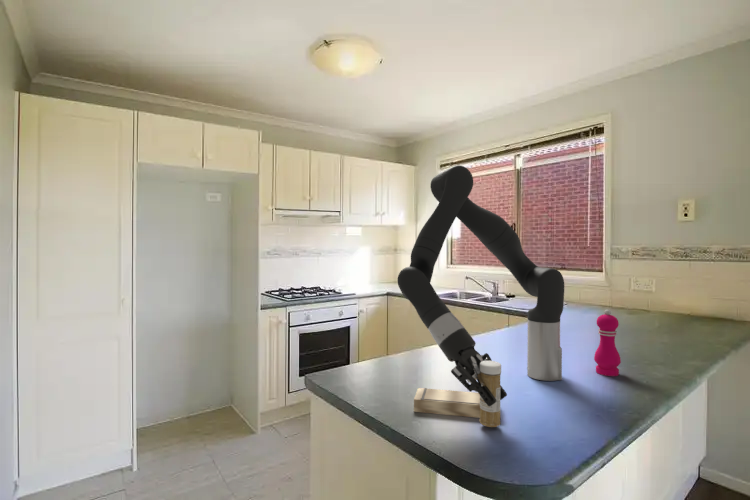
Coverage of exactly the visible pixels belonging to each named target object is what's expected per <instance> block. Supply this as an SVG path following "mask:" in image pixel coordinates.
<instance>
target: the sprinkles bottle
mask: <svg viewBox="0 0 750 500" xmlns="http://www.w3.org/2000/svg"><path fill="white" fill-rule="evenodd" d="M480 372H481V378H482V380H483V382H484V384H485V386H487V388H488V389H489V390H490V392H491V393H492V394H493V396H494V397H495V399H496V403H494V404H493V405H492V406H488V405H487V404H486V403H485V401H484V400H483V398H482V397H481V396H480V418H479V420H478V421H479V423H480V424H481V425H482V426H485V427H488V428H497V427H499V426H500V425H501V400H500V389H501V387H500V385H501V374H502V364H501V363H500V362H498V361H495V360H492V361H482V362H480ZM485 386H484V387H485Z"/></svg>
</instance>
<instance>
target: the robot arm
mask: <svg viewBox="0 0 750 500" xmlns="http://www.w3.org/2000/svg"><path fill="white" fill-rule="evenodd" d="M430 181H431V182H430V191H431V194H432V195H433V197H434V198H435V200H436V201H437V202H438V204H437V205H436V208H435V209H434V210H433V212H432V214H431V215H430V216H429V218H428V219H427V220H426V221H425V223H424V225H423V226H422V228H421V230H420V231H419V233H418V235H417V238H416V240H415V243H414V245H413V247H412V249H411V253H410V264H409V266H407V267H405V268H402V270H400V271H399V272H398V276H397V285H398V288H399V290H400V292H401V293H402V297H404V298H405V299H406V300H408V301H409V302H410V303H411V305H412V306H413V307H414V309H415V310H416V313H417V315H418V317H419V318H420V320H421V321H422V323H423V324H424V326H425V327H426V329H427V330H428V332H429V333H430V334H431V335H430V336H431V337H432V339H433V340H434V342H435V343H436V345H437V346H438V347H439V349H440V350H441V351H442V353H443V354H444V356H445V357H446V358H447V360H448V362H454V363H455V366H454V367H453V368H452V369H451V370H450V372H451V374H452V375H453V376H454V377H455V378H456V380H458V381H459V382H460V383H461V384H462V385H463V386H464V387H465V388H466V389H467V391H468V392H475V393H479V394H480V396H481V397H482V398H483V400H484V401H485V403H486V404H487V405H488V406H492V405H493V404H494V403H496V399H495V397H494V396H493V394H492V393H491V392H490V390H489V389H488V388H487V386H485V384H484V382H483V380H482V378H481V372H480V362H482V361H493V360H492V358H491V356H490V355H489V353H487V352H486V353H484V354H480V352H478V351H477V350H476V349H475V346H476V343H477V342H476V341H475V340H474V338H473V337H472V335H471V334H470V333H469V332H468V330H467V329H466V327H464V324H462V323H461V321H460V320H459V319H458V318H457V316H455V315H454V313H452V311H451V310H450V309H449V307H448V306H447V305H446V303H445V302H444V301H443V299H441V298H440V296H439V294H437V292H436V290H435V289H434V287H433V286H432V283H431V282H432V281H431V280H432V279H433V274H434V268H435V265H436V263H437V260H438V259H439V256H440V253H441V251H442V248H443V245H444V243H445V240H446V238H447V236H448V234H449V232H450V230H451V227H452V225H453V224H454V221H455V220H456V218H457V219H458V220H460V222H461V223H463V225H464V226H465V227H467V229H469V231H470V232H471V233H472V234H473V235H474V236H475V237H476V238H477V239H478V240H479V241H480V243H482V245H483V246H485V248H486V249H487V250H488V251H489V252H490V253H491V254H492V255H494V256H495V258H496V259H497V260H498V261H499V262H500V263H501V264H502V265H503V266H504V267H505V268H506V269H507V270H508V271H509V272H510V273H511V274H512V276H513V277H514V278H515V280H516V282H518V284H519V285H520V286H521V288H522V289H523V290H524V291H525V292H526V293H527V294H529V295H530V296H533V297H536V299H537V300H536V305H535V307H533V308H530V309H528V311H527V353H526V354H527V355H526V357H527V361H526V362H527V363H526V365H527V367H526V370H527V373H526V375H527V376H528V377H530V378H532V379H535V380H538V381H539V380H540V381H546V382H554V381H562V380H563V378H562V377H563V365H562V364H563V349H562V347H561V316H562V314H563V311H564V302H565V301H564V300H565V281H564V280H565V279H564V276H563V274H562V273H561V271H560V270H558V269H556V268H549V267H540V266H538V265H536V264H535V263H534V262H533V261H532V260H531V259H530V258H529V257H528V256H527V255H526V254H525V252H524V250H523V247H522V243H521V239H520V237H519V235H518V233H517V232H516V231H515V229H514V228H513V227H512V226H511V225H510V224H509V222H508V221H506V220H505V219H504V218H503V217H501V216H500V215H498V214H496V213H494V212H493V211H491V210H489V209H486V208H484V207H482V206H480V205H478V204H477V203H475V202H473V201H472V200H471V199H470V198H469V196H470V194H471V193H472V190H473V187H474V177H473V174H472V172H471V171H470V170H469V168H468V167H465V166H463V165H460V164H458V165H453V166H451V167H448V168H447V169H445V170H443V171H442V172H440V173H437V174H436V175H435V176H433V178H432V179H431V180H430ZM484 386H485V387H484ZM500 387H501V389H500V401H502V400H504V399H505V398H506V397H507V395H508V394H507V392H506V391H505V389H504V388H503V386H502V385H501V384H500Z"/></svg>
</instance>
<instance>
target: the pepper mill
mask: <svg viewBox="0 0 750 500" xmlns="http://www.w3.org/2000/svg"><path fill="white" fill-rule="evenodd" d="M603 313H604V314H601V315H599V316H598V317H597V318H596V325H597V327H598V328H599V329H598V335H599V338H600V339H599V345H598V347H597V349H596V350H595V352H594V356H593V360H594V362H595V363H596V366H595V372H596V373H597V374H598V375H601V376H606V377H618V376H619V375H620V368H618V367H619V366H620V365H621V363H622V361H621V360H622V359H621V355H620V353H619V352H618V349H617V346H616V340H615V338H616V336H617V335H618V334H617V329H618V327H619V325H620V324H619V320H618V318H617V317H616V316H615V315H612V314H611V313H612V312H611V310H610V309H605V310H604V312H603Z"/></svg>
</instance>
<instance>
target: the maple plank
mask: <svg viewBox="0 0 750 500" xmlns="http://www.w3.org/2000/svg"><path fill="white" fill-rule="evenodd" d="M413 412H415V413H424V414H425V413H426V414H435V415H446V416H456V417H464V418H465V417H467V418H468V417H469V418H477V419H478V418H479V419H480V394H479V393H478V392H475V391H471V392H470V391H460V390H451V389H449V390H447V389H437V388H427V387H424V388H423V387H418V388H417V390H416V392H415V396H414V398H413Z"/></svg>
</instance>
